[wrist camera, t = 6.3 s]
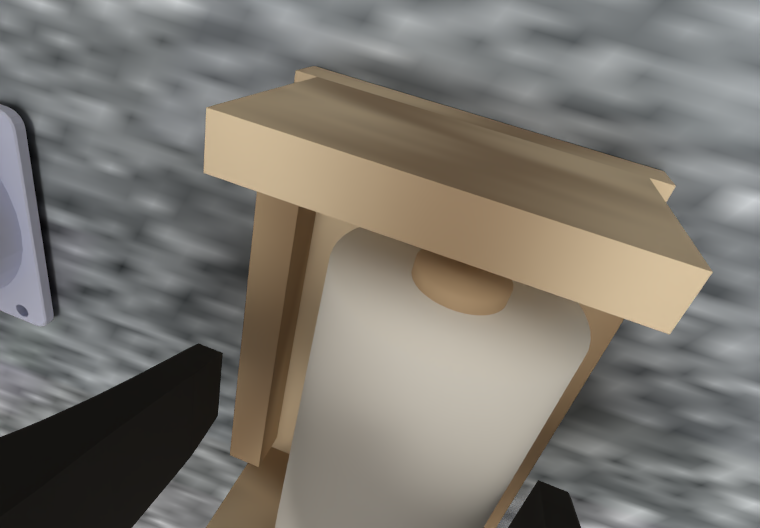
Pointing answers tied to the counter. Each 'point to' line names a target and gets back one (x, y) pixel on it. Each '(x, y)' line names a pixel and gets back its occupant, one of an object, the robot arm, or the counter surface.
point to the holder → (424, 237)
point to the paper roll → (422, 389)
